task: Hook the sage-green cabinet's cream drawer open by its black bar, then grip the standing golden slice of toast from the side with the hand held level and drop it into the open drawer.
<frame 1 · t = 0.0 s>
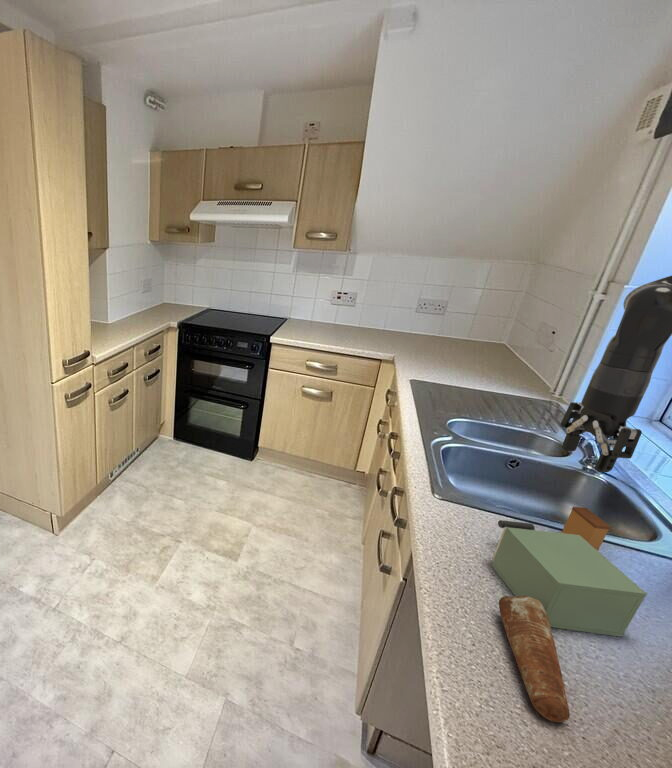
hand: (583, 460, 86), 19 cm above the counter, tool pointing down, fingers open, 8 cm apart
drawer: (542, 559, 78), point 5 cm above the counter, slide at 0.0 cm
bread: (533, 667, 64), on the counter
cabinet: (550, 597, 76), on the counter
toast: (576, 546, 89), on the counter
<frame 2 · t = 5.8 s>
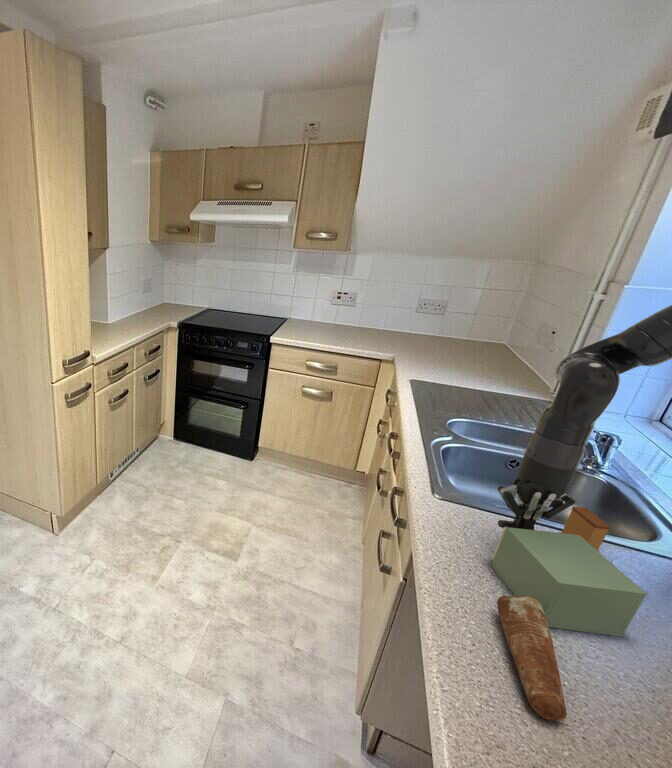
hand: (520, 531, 84), 6 cm above the counter, tool pointing down, fingers closed
drawer: (541, 559, 78), point 5 cm above the counter, slide at 0.1 cm, touching gripper
everything else where it was.
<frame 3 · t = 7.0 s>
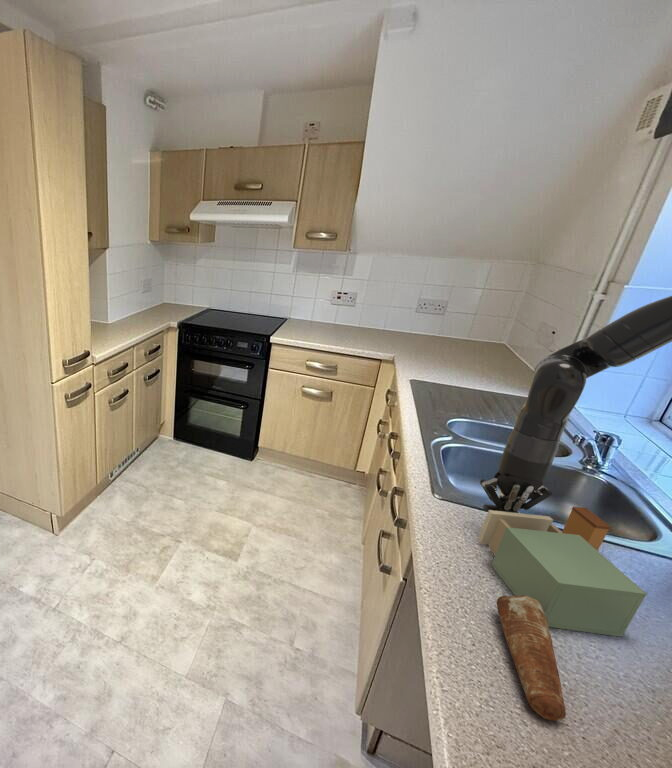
hand: (501, 521, 90), 4 cm above the counter, tool pointing down, fingers closed
drawer: (523, 539, 83), point 5 cm above the counter, slide at 5.4 cm, touching gripper
everything else where it was.
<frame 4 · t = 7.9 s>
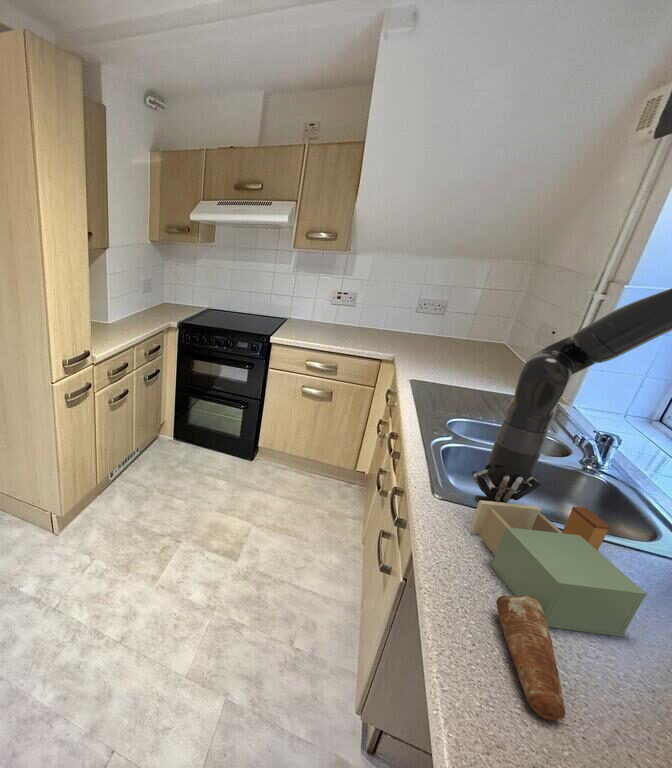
hand: (492, 512, 93), 4 cm above the counter, tool pointing down, fingers closed
drawer: (512, 528, 86), point 5 cm above the counter, slide at 8.7 cm, touching gripper
everything else where it was.
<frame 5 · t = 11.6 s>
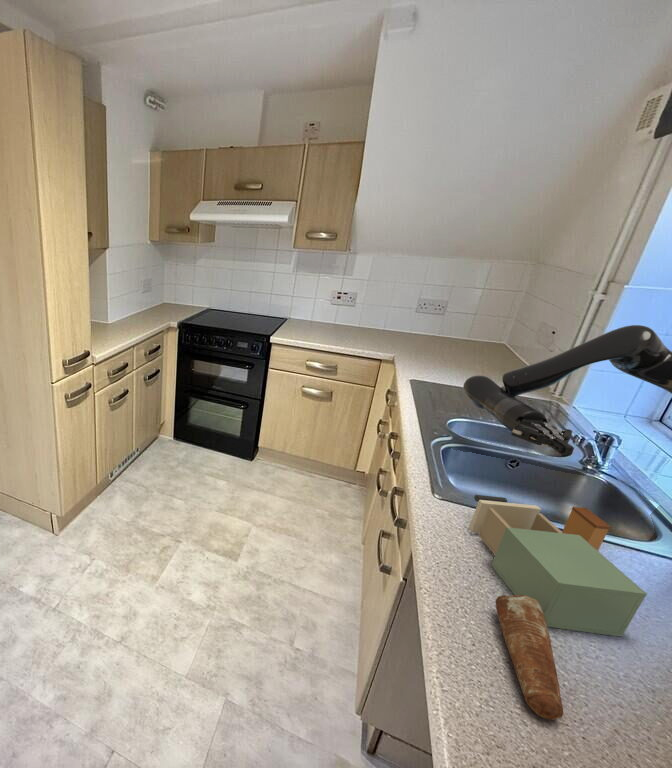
hand: (568, 451, 91), 18 cm above the counter, tool horizontal, fingers closed
drawer: (512, 528, 87), point 5 cm above the counter, slide at 8.9 cm
everything else where it was.
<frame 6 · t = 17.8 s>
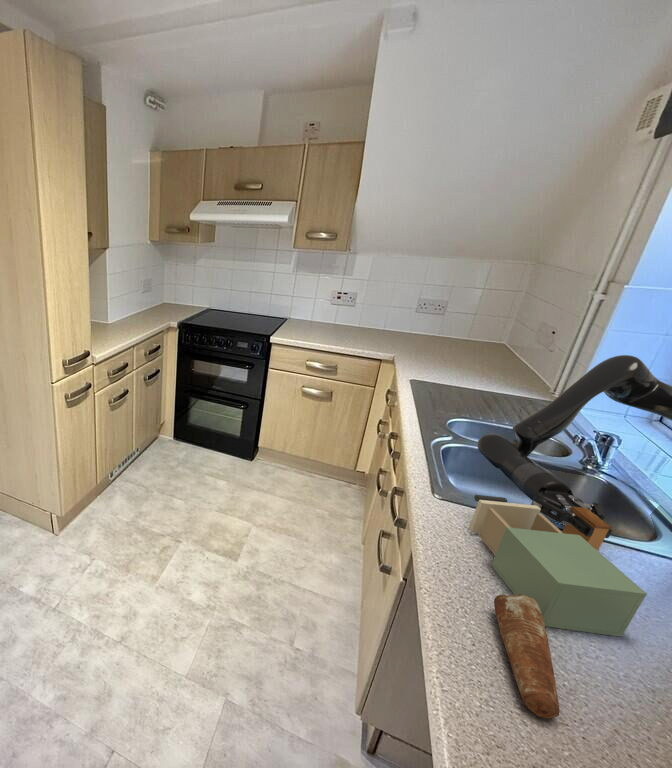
hand: (599, 533, 84), 6 cm above the counter, tool horizontal, fingers closed on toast, 2 cm apart
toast: (576, 546, 89), on the counter, touching gripper
everything else where it was.
when the fingers open (10 cm above the counter, at t = 25.0 s): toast drops 2 cm, resting on drawer.
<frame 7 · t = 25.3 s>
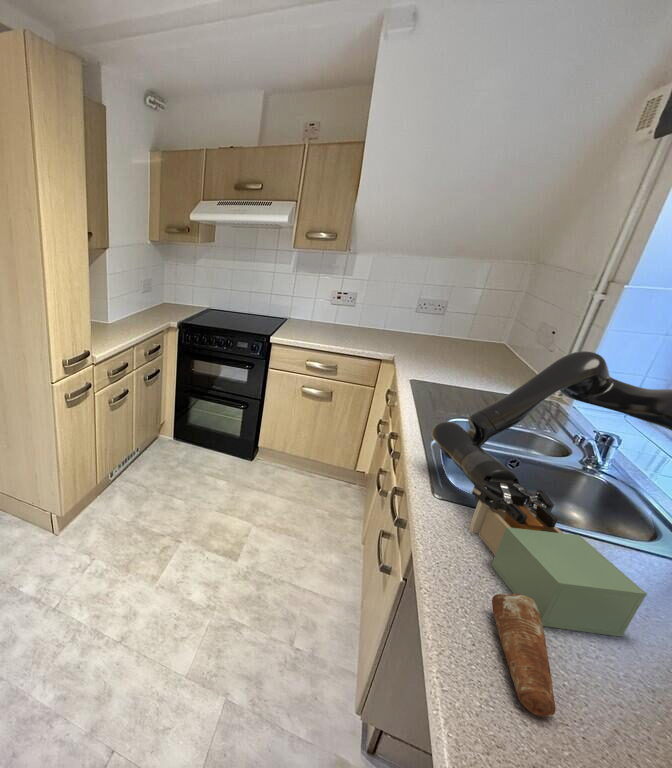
hand: (538, 521, 80), 10 cm above the counter, tool horizontal, fingers open, 4 cm apart
drawer: (512, 528, 87), point 5 cm above the counter, slide at 8.9 cm, touching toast
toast: (513, 546, 85), point 2 cm above the counter, touching drawer
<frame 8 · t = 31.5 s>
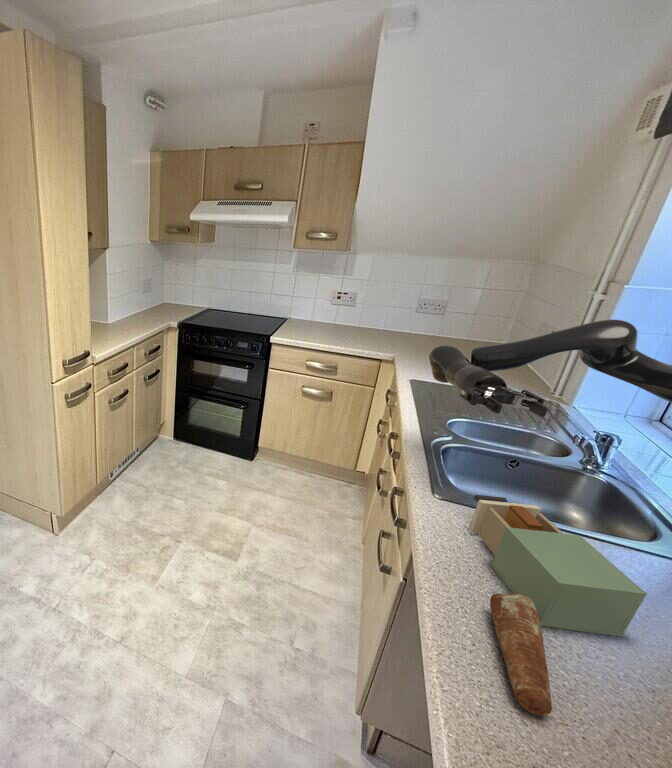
hand: (521, 410, 86), 28 cm above the counter, tool horizontal, fingers open, 8 cm apart
at the end: drawer slide at 8.9 cm; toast inside the target area in the cabinet (6.4 cm from its centre), point 2.0 cm above the cabinet's base; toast touching drawer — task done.
